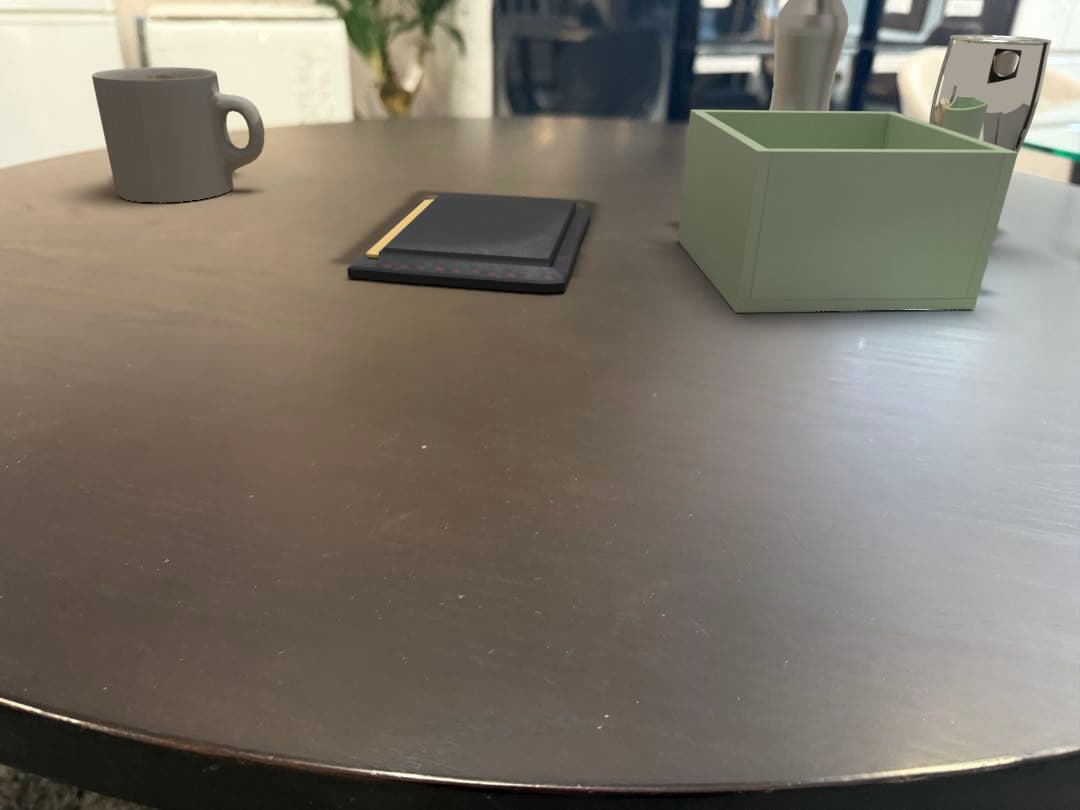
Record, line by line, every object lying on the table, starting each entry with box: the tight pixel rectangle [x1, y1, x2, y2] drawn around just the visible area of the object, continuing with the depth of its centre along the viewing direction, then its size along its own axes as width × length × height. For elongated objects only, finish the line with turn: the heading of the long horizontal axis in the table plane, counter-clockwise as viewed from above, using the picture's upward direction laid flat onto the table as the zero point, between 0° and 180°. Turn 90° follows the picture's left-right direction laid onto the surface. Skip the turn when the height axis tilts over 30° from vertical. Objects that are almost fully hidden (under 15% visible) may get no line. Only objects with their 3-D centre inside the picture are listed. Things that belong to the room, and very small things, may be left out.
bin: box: [677, 109, 1019, 314], centre depth 57 cm, size 16×16×10 cm
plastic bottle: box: [768, 0, 850, 111], centre depth 79 cm, size 6×7×20 cm
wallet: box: [346, 192, 591, 294], centre depth 63 cm, size 20×2×15 cm
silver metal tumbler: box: [928, 34, 1053, 156], centre depth 63 cm, size 7×7×15 cm
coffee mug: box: [91, 66, 265, 204], centre depth 74 cm, size 13×10×10 cm
